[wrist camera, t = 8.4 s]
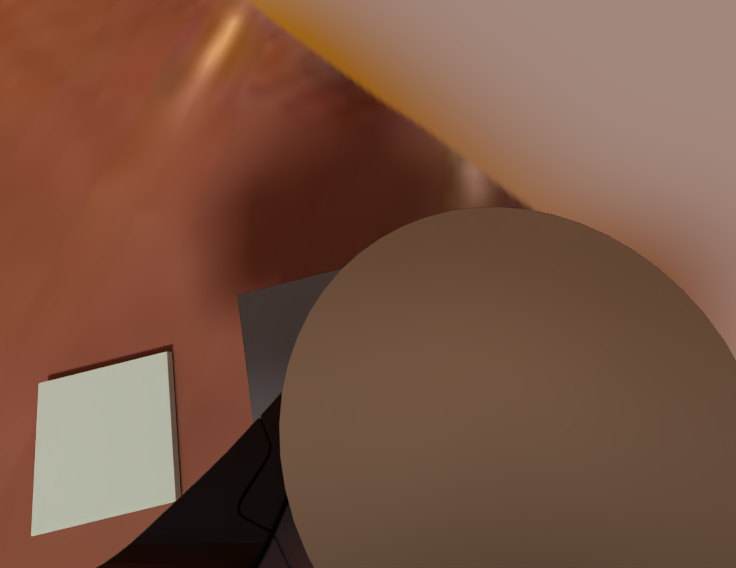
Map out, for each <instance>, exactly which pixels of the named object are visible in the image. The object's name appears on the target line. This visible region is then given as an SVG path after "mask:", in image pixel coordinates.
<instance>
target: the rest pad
mask: <svg viewBox="0 0 736 568" xmlns="http://www.w3.org/2000/svg"><path fill="white" fill-rule="evenodd" d="M180 496H181V487H180V471H179V456H178V440H177V424H176V408H175V392H174V376H173V361H172V352H168V351H166V352H162V353H158V354H154V355H150V356H146V357H142V358H138V359H134V360H130V361H126V362H122V363H118V364H114V365H110V366H106V367H102V368H98V369H94V370H90V371H86V372H82V373H78V374H74V375H70V376H66V377H62V378H58V379H54V380H50V381H46V382H42V383H39V388H38V408H37V428H36V449H35V469H34V489H33V509H32V529H31V536H35V535H39V534H43V533H47V532H52V531H56V530H60V529H64V528H68V527H72V526H76V525H81V524H85V523H89V522H93V521H97V520H101V519H105V518H109V517H114V516H118V515H122V514H126V513H130V512H134V511H138V510H143V509H147V508H151V507H155V506H159V505H163V504H167V503H172V502H175V501H176V500H177V499H178V498H179V497H180Z"/></svg>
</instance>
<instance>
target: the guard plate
mask: <svg viewBox="0 0 736 568" xmlns="http://www.w3.org/2000/svg"><path fill="white" fill-rule="evenodd" d="M342 269H343V268H342ZM342 269H338V270H334V271H330V272H326V273H322V274H318V275H314V276H310V277H306V278H302V279H298V280H294V281H290V282H286V283H282V284H278V285H274V286H270V287H266V288H262V289H258V290H254V291H250V292H246V293H242V294H238V295H237V296H238V304H239V312H240V320H241V328H242V336H243V344H244V352H245V359H246V367H247V375H248V383H249V391H250V399H251V407H252V415H253V423H254V422H255V421H256V420H257V419H258V418H260V416H261V414H262V413H263V412H264V411H265V410H266V409H267V408H268V406H269V405H270V404H271V403H272V402H273V401H274V400H275V399H276V397H277V396H278V395H279V394H280V393H281V392H282V391H283V386H284V381H285V377H286V372H287V367H288V363H289V360H290V357H291V354H292V351H293V348H294V346H295V343H296V340H297V337H298V335H299V333H300V331H301V329H302V327H303V325H304V323H305V320H306V318H307V316H308V314H309V312H310V311H311V309H312V308H313V306H314V305H315V303H316V302H317V300H318V298H319V297H320V295H321V294H322V292H323V291H324V290H325V288H326V287H327V286H328V285H329V284H330V282H331V281H332V280H333V279H334V278H335V276H336V275H337V274H338V273H339V272H340V271H341V270H342ZM260 419H261V418H260Z"/></svg>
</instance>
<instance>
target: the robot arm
mask: <svg viewBox="0 0 736 568" xmlns="http://www.w3.org/2000/svg"><path fill="white" fill-rule="evenodd" d="M281 399H282V392H281V393H280V394H279V395H278V396H277V397H276V399H275V400H274V401H273V402H272V403H271V404H270V405H269V406H268V408H267V409H266V410H265V411H264V412H263V413H262V414H261V416H260V418H261V419H260V418H258V419H257V420H256V421H255V422H254V423H253V424H252V425H251V426H250V428H249V429H248V430H247V431H246V432H245V433H244V434H243V435H242V436H241V437H240V438H239V439H238V441H237V442H236V443H235V444H234V445H233V446H232V447H231V448H230V449H229V450H228V451H227V452H226V453H225V454H224V455H223V456H222V457H221V458H220V459H219V460H218V461H217V462H216V463H215V464H214V465H213V466H212V467H211V468H210V469H209V470H208V471H207V472H206V473H205V474H204V475H203V476H202V477H201V478H200V479H198V480H197V481H196V482H195V483H194V484H193V485H192V486H191V487H190V488H189V489H188V490H187V491H186V492H185V493H184V494H183V495H182V496H180V497H179V498H178V499H177V500H176V501H175V502H174V503H173V504H172V505H171V506H170V507H169V508H168V509H167V510H166V511H165V512H163V513H162V514H161V515H160V516H159V517H158V518H157V519H156V520H155V521H154V522H153V523H152V524H151V525H150V526H149V527H148V528H147V529H145V530H144V531H143V532H142V533H141V534H140V535H139V536H138V537H137V538H136V539H134V540H133V541H132V542H131V543H130V544H129V545H127V546H126V547H125V548H124V549H122V550H121V551H120V552H119V553H117V554H116V555H115V556H113V557H112V558H110V559H109V560H107V561H106V562H105V563H103V564H102V565H100V566H98V567H97V568H314V567H313V565H312V563H311V561H310V559H309V557H308V555H307V553H306V550H305V548H304V545H303V543H302V540H301V538H300V536H299V533H298V531H297V528H296V526H295V523H294V520H293V516H292V512H291V509H290V505H289V501H288V498H287V494H286V490H285V484H284V478H283V471H282V464H281V458H280V431H279V422H280V410H281Z"/></svg>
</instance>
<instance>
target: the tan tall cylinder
mask: <svg viewBox="0 0 736 568" xmlns="http://www.w3.org/2000/svg"><path fill="white" fill-rule="evenodd" d="M279 431H280V458H281V464H282V471H283V478H284V484H285V490H286V494H287V498H288V501H289V505H290V509H291V512H292V516H293V520H294V523H295V526H296V528H297V531H298V533H299V536H300V538H301V540H302V543H303V545H304V548H305V550H306V553H307V555H308V557H309V559H310V561H311V563H312V565H313V567H314V568H736V360H735V358H734V356H733V355H732V353H731V351H730V350H729V348H728V346H727V344H726V343H725V341H724V339H723V338H722V337H721V335H720V334H719V333H718V331H717V330H716V328H715V327H714V326H713V324H712V323H711V322H710V320H709V319H708V318H707V316H706V315H705V314H704V312H703V311H702V310H701V309H700V308H699V307H698V306H697V305H696V304H695V303H694V301H692V299H691V298H690V297H689V296H688V295H687V294H686V293H685V292H684V290H683V289H681V288H680V287H679V286H678V285H677V284H676V283H675V282H674V281H673V280H671V279H670V278H669V277H668V276H667V275H666V274H665V273H664V272H662V271H661V270H660V269H659V268H658V267H656V266H655V265H653V264H652V263H651V262H650V261H648V260H647V259H645V258H644V257H643V256H641V255H640V254H638V253H637V252H636V251H634V250H633V249H631V248H629V247H627V246H626V245H624V244H622V243H620V242H619V241H617V240H615V239H613V238H612V237H610V236H608V235H606V234H604V233H602V232H599V231H597V230H595V229H592V228H590V227H588V226H586V225H583V224H581V223H578V222H575V221H572V220H569V219H566V218H562V217H559V216H556V215H552V214H548V213H543V212H538V211H533V210H528V209H517V208H506V207H480V208H468V209H461V210H454V211H448V212H444V213H440V214H436V215H433V216H429V217H425V218H422V219H420V220H417V221H415V222H412V223H410V224H407V225H405V226H402V227H400V228H398V229H396V230H395V231H393V232H391V233H389V234H387V235H385V236H384V237H382V238H380V239H378V240H377V241H376V242H374V243H373V244H371V245H370V246H369V247H367V248H366V249H364V250H363V251H362V252H360V253H359V254H358V255H357V256H356V257H355V258H353V259H352V260H351V261H350V262H349V263H348V264H347V265H346V266H345V267H344V268H343V269H342V270H341V271H340V272H339V273H338V274H337V275H336V276H335V278H334V279H333V280H332V281H331V282H330V284H329V285H328V286H327V287H326V288H325V290H324V291H323V292H322V294H321V295H320V297H319V298H318V300H317V302H316V303H315V305H314V306H313V308H312V309H311V311H310V312H309V314H308V316H307V318H306V320H305V323H304V325H303V327H302V329H301V331H300V333H299V335H298V337H297V340H296V343H295V346H294V348H293V351H292V354H291V357H290V360H289V363H288V367H287V372H286V377H285V381H284V386H283V391H282V399H281V410H280V422H279Z"/></svg>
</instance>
